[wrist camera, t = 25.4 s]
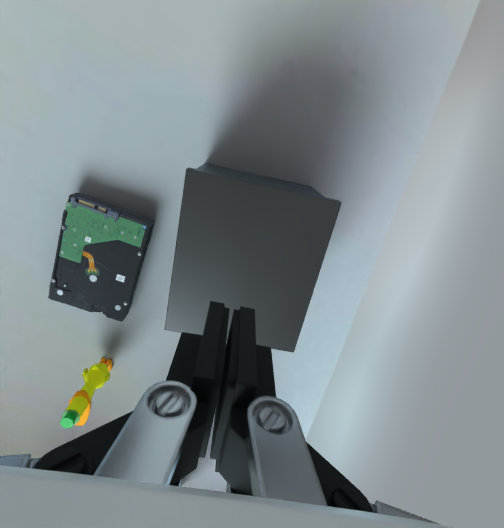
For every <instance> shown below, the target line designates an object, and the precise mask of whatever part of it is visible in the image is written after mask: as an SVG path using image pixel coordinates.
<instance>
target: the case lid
mask: <svg viewBox="0 0 504 528" xmlns="http://www.w3.org/2000/svg"><path fill="white" fill-rule="evenodd" d="M340 206H341V202H340V201H338V200H334V199H329V198H325V197H320V196H316V195H311V194H307V193H302V192H297V191H293V190H288V189H284V188H279V187H275V186H270V185H266V184H261V183H256V182H252V181H247V180H243V179H238V178H234V177H229V176H225V175H220V174H215V173H211V172H206V171H202V170H197V169H193V168H187V169H186V175H185V182H184V190H183V197H182V205H181V212H180V219H179V227H178V234H177V241H176V249H175V256H174V264H173V271H172V278H171V286H170V293H169V301H168V308H167V315H166V323H165V330H168V331H174V332H180V333H182V332H187V333H192V334H198V335H203V332H204V327H205V323H206V318H207V314H208V310H209V305H210V301H214V302H220V303H225V306H224V307H226V308H230V311H229V320H228V329H227V339H228V334H229V330H230V325H231V320H232V316H233V312H234V309H237V310H239V309H240V306H242V307H247V308H253V309H255V324H256V345H262V346H268V347H270V348H271V349H277V350H283V351H288V352H294V350H295V347H296V344H297V341H298V337H299V334H300V331H301V328H302V325H303V322H304V319H305V316H306V312H307V309H308V306H309V303H310V300H311V297H312V294H313V291H314V287H315V284H316V281H317V278H318V275H319V272H320V269H321V266H322V262H323V259H324V256H325V253H326V250H327V247H328V244H329V241H330V237H331V234H332V231H333V228H334V225H335V222H336V219H337V216H338V212H339V209H340ZM227 339H226V341H227Z"/></svg>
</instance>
